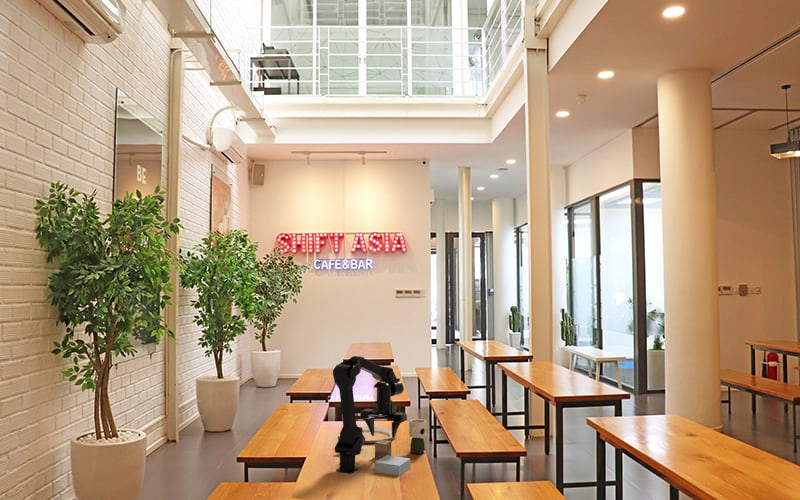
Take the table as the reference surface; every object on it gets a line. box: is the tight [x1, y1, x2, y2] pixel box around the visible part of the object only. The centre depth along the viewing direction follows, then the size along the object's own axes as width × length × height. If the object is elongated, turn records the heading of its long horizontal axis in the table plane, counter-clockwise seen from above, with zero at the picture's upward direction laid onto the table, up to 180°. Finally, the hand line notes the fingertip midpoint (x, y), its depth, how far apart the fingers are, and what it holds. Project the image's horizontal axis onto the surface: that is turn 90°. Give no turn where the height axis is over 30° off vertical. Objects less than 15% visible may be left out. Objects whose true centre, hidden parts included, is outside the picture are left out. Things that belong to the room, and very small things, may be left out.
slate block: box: [374, 455, 411, 477], centre depth 233 cm, size 10×10×4 cm
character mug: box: [408, 418, 427, 454], centre depth 257 cm, size 11×7×13 cm, turn 155°
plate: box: [361, 426, 397, 444], centre depth 281 cm, size 26×26×2 cm
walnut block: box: [374, 439, 393, 459], centre depth 250 cm, size 5×5×6 cm
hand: (383, 437), depth 251 cm, fingers open, 9 cm apart
